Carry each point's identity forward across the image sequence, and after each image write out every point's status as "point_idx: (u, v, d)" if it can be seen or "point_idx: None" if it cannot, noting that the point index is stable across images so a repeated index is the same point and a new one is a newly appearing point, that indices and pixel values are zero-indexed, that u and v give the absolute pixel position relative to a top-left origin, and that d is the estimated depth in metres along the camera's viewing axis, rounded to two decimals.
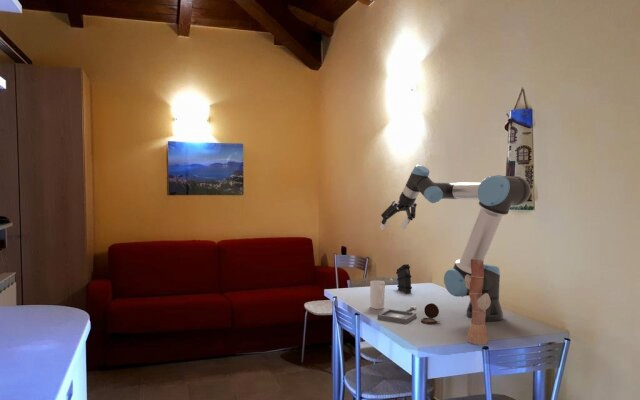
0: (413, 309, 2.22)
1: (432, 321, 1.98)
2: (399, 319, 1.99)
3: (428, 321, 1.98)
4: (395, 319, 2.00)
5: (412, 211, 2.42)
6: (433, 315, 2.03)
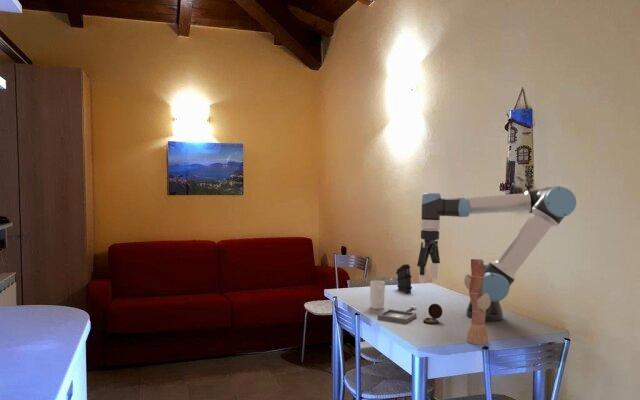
0: (413, 309, 2.22)
1: (433, 321, 1.98)
2: (399, 319, 1.99)
3: (429, 321, 1.98)
4: (395, 319, 2.00)
5: (435, 252, 2.07)
6: (437, 315, 2.03)
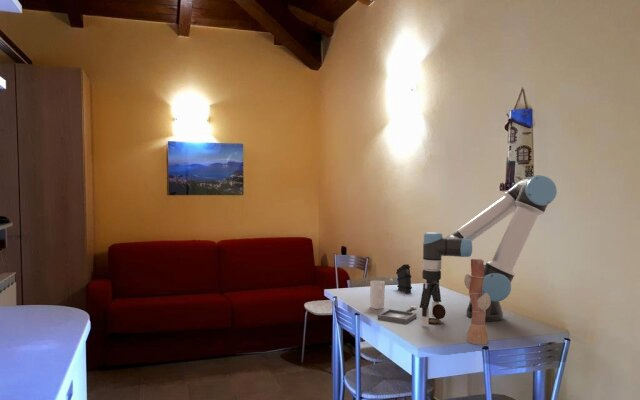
0: (413, 309, 2.22)
1: (435, 321, 1.97)
2: (399, 319, 1.99)
3: (430, 321, 1.98)
4: (395, 319, 2.00)
5: (437, 291, 2.07)
6: (440, 316, 2.02)
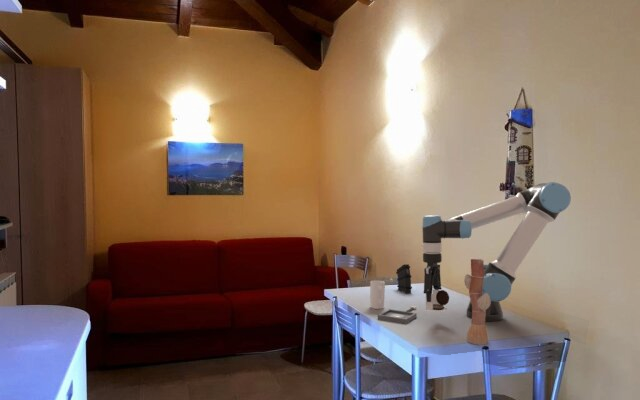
0: (413, 309, 2.22)
1: (438, 307, 1.96)
2: (399, 319, 1.99)
3: (434, 307, 1.96)
4: (395, 319, 2.00)
5: (437, 277, 2.05)
6: (444, 302, 2.00)
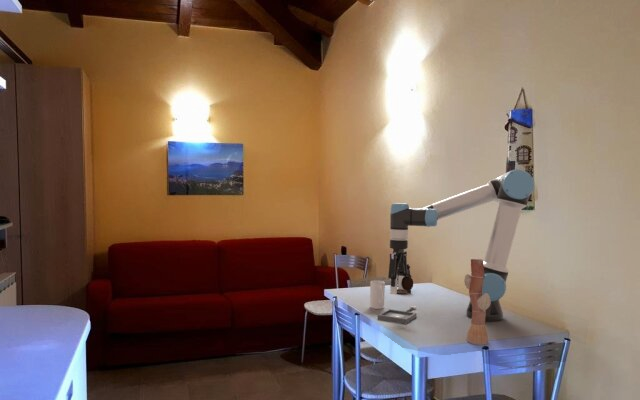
0: (413, 309, 2.22)
1: (402, 292, 2.01)
2: (399, 319, 1.99)
3: (398, 292, 2.02)
4: (395, 319, 2.00)
5: (403, 263, 2.11)
6: (408, 287, 2.06)
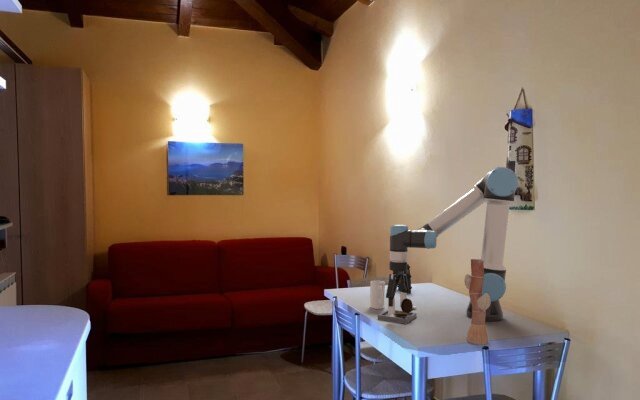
0: (413, 309, 2.22)
1: (401, 313, 2.02)
2: (399, 319, 1.99)
3: (397, 313, 2.02)
4: (395, 319, 2.00)
5: (404, 282, 2.12)
6: (408, 310, 2.06)
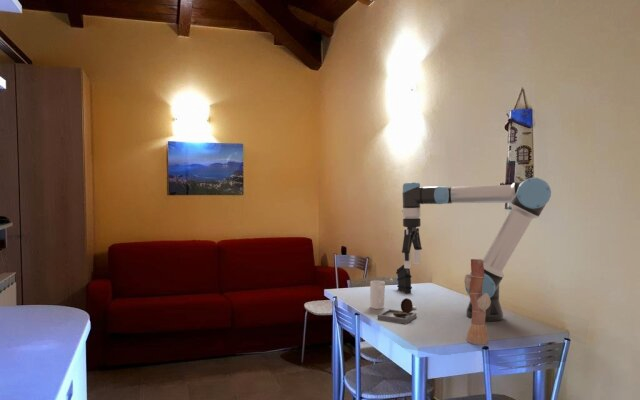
0: (413, 309, 2.22)
1: (401, 313, 2.02)
2: (399, 319, 1.99)
3: (397, 313, 2.02)
4: (395, 319, 2.00)
5: None
6: (408, 310, 2.06)
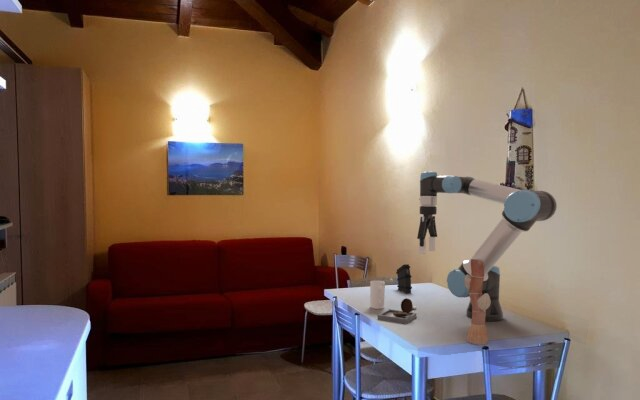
0: (413, 309, 2.22)
1: (401, 313, 2.02)
2: (399, 319, 1.99)
3: (397, 313, 2.02)
4: (395, 319, 2.00)
5: None
6: (408, 310, 2.06)
